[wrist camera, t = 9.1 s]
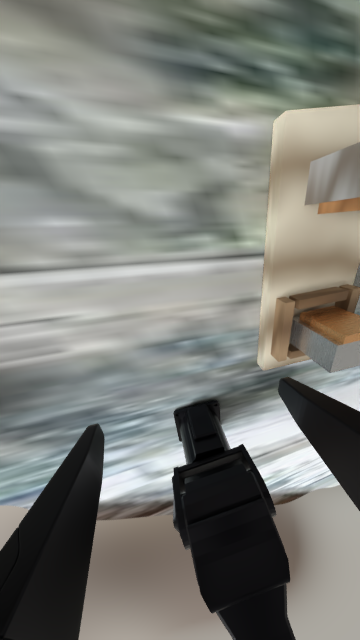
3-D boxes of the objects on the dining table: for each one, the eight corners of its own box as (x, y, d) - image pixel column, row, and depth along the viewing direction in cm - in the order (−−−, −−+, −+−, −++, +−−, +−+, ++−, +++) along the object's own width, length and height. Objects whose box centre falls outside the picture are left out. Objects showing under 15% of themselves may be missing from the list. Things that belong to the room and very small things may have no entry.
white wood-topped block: (322, 330, 23) (377, 360, 18) (285, 339, 23) (330, 372, 17) (329, 301, 21) (392, 325, 16) (289, 310, 21) (340, 337, 16)
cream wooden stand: (323, 347, 27) (384, 386, 20) (257, 363, 26) (298, 410, 19) (383, 111, 16) (559, 25, 9) (273, 121, 15) (382, 32, 8)
